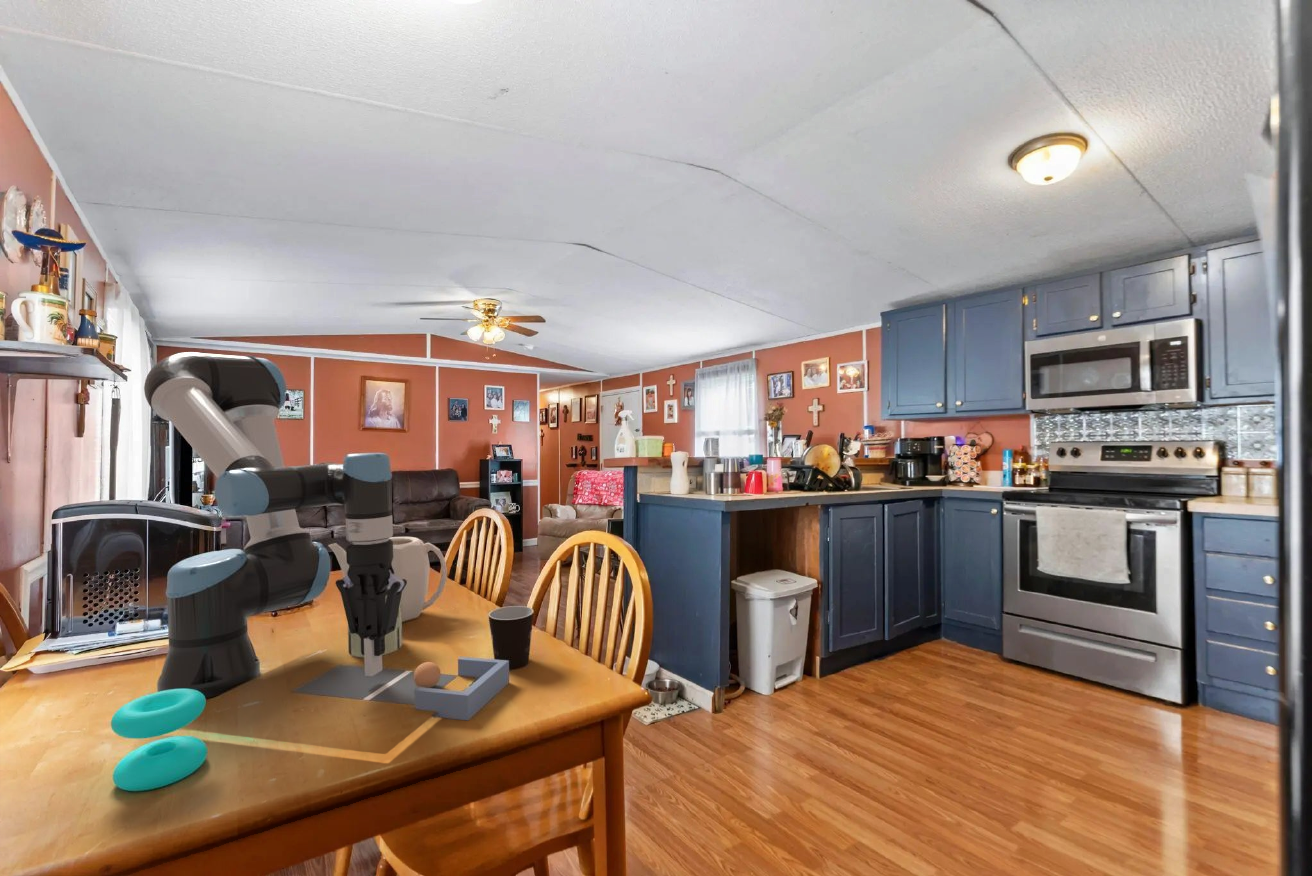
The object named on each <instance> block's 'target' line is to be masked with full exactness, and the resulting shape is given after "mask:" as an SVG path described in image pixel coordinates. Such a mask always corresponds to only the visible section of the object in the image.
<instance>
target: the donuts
mask: <svg viewBox="0 0 1312 876" xmlns="http://www.w3.org/2000/svg"><path fill="white" fill-rule="evenodd" d="M206 699H207V698H205V696H204V695H203V694H202V693H201V692H199V691H197V690H194V689H171V690H165V691H160V692H157V691H156V692H152V693H148V694H146V695H143V696H139V697H137V698H135V699H133V700H131V701H129V702H127V703H125V704H123V705H122V706H121V707H120V708H119V709H118V710H116V711H115V713H114V714H113V716H112V718H111V720H110V726H111V730H112V731H113V732H114V733H115V734H116V735H118V737H123V738H125V739H135V740H136V739H137V740H138V739H139V740H140V739H141V740H142V739H149V738H151V739H152V738H156V737H159V736H163V735H167V734H170V733H173V732H175V731H176V732H177V730H180V729H182V728H184V727H187V726H188V725H190V724H191V723H193V721H195V720H196V719H197V718H198V717H200V715H201V714H202V713H203V711H204V710H205V707H206V705H207V700H206ZM207 755H208V746H207V745H206V743H205V742H204V741H203V740H201V738H197V737H194V736H189V735H176V736H169V737H168V736H167V737H165V738H161V739H157V740H156V739H155V740H154V741H150V742H148V743H146V744H143V745H142V746H140V747H137V748H136V749H134V750H132V751H131V752H129V753H128V754H126V755H125V756H124V757H123V758H122V759H121V760H120V761H119V762H118V763H117V764H116V766H115V768H114V770H113V773H112V781H113V783H114V785H115V786H116V787H117V788H119V789H121V790H124V791H127V792H128V791H129V792H142V791H143V792H144V791H149V790H154V789H159V788H163V787H165V786H168V785H170V784H174V783H176V782H179V781H180V780H182V779H184V778H186V777H188V776H190V775H191V774H193V773H194V772H195V771H197V770H198V769H199V768H200V767H201V766H202V765H203V764H204V762H205V761H206V758H207Z"/></svg>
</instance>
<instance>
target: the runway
mask: <svg viewBox="0 0 1312 876" xmlns="http://www.w3.org/2000/svg"><path fill="white" fill-rule="evenodd" d="M414 672H415V670H404V669H393V668H391V669H390V668H383V667H382V671H380V672H379V673H377V674H375V675H374V676H365V666H360V665H358V666H357V665H349V664H348V665H347V664H339V665H337V666H335V667H333V668H331V669H329V670H327V671H326V672H323V673H322V674H320V675H319V676H316V677H315V678H313V679H311V680H309V681H307V682H306V683H303V684H301V685H300V686H298V687H296V688H295V689H292V690H291V691H290V693H293V694H294V693H296V694H305V695H314V696H315V695H316V696H324V697H333V698H335V697H336V698H341V699H342V698H344V699H352V700H363V701H370V702H371V701H372V702H383V703H391V704H400V705H410V706H411V705H412V706H415V692H414V690H416V689H417V688H418V686H417V685H416V684H415V682H414ZM457 677H459V676H458V674H450V673H449V674H447V673H441V675H440V679H439V681H438V683H437V684H436V685H435V686H433V687H432V689H443V688H445V686H447V685H448V684H449V683H451V682H452V681H453V680H454V679H456V678H457Z"/></svg>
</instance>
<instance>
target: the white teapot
mask: <svg viewBox="0 0 1312 876" xmlns="http://www.w3.org/2000/svg"><path fill="white" fill-rule="evenodd" d="M389 539H391V540H392V541H393V560H392V568H393V570H394V575H395V576H396V577H397V578H399V579H400V580H402V579H405V580H406V581H407V584H406V586H405V588H404V589H403V591H402V595H401V619H402V623H405V622H407V621H409V620H414V619H417V618H419V617H420V615H421V614H422V612H423V611H425V610H426V609H427V608H429V607H430V606H433V604H434V603H435V602H436V601H437V600H438V598H439V597H440V596H441V595H442V593H443V592H444V589H445V585H446V582H447V575H448V568H447V564H446V560H445V557H444V555H443V553H442V551H441V549H440V548H439V547H437V546H436V545H435V544H432V543H430V542H426V543H424V541H423V540H422V539H420V538H418V537H415V536H414V537H413V536H392V537H390V538H389ZM327 546H328V547H329V548H330V549H331V551H333V553H334V555H335V557H336V560H337V561H338V564H339V566H340V569H341V573H342V576H343V578H344V577H345V576H346V575H347V571H348V569H349V565H348V564H347V558H346V549H344V548H343V547H341V545H339V544H337V543H336V542H334V543H331V544H328V545H327ZM430 551H432V552H434V553H435V554H436V556H437V557H438V558H439V562H440V567H441V572H440V573H441V575H440V580H439V583H438V586H437V589H436V591H435V592H434V593H433V594H432V596H431V597H430V598H429V599H428V600H427V601H426V599H427V595H428V589H429V581H430V580H429V579H430V569H431V568H430V567H431V566H430V560H429V555H428V553H429V552H430Z"/></svg>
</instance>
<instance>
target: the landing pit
mask: <svg viewBox="0 0 1312 876" xmlns="http://www.w3.org/2000/svg"><path fill="white" fill-rule="evenodd" d="M457 675H458V676H457V677H469V678H470V677H471V678H476V679H475V680H473V681H472V682H473V683H472V684H470V685H469V686H468V687H467V688H466V689H465V690H463V691H462V690H461V691H460V690H454V689H443V688H441V689H432V688H422V687H418V688H417V689H416V690H414V692H415V705H414V710H422V711H429V712H431V711H432V712H434V713H433V714H432V715H431V716H430V717H433V718H442V719H449V720H459V721H460V720H461V721H469V720H471V719H472V718H473V717H475V715H476V714H477V713H478V712H479V711H481V710H482V708H483V707H485V706H486V705H487V704H488V703H489V702H490V701H491V700H492V699H493V698H494V697H495V696H496V695H498V693H500V692H501V691H502V690H503V689H504V688H505V687H506V686H507V685H508V684H509V683H510V670H509V661H507V660H495V659H494V658H481V657H480V658H479V657H469V656H460V657H458V658H457Z"/></svg>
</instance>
